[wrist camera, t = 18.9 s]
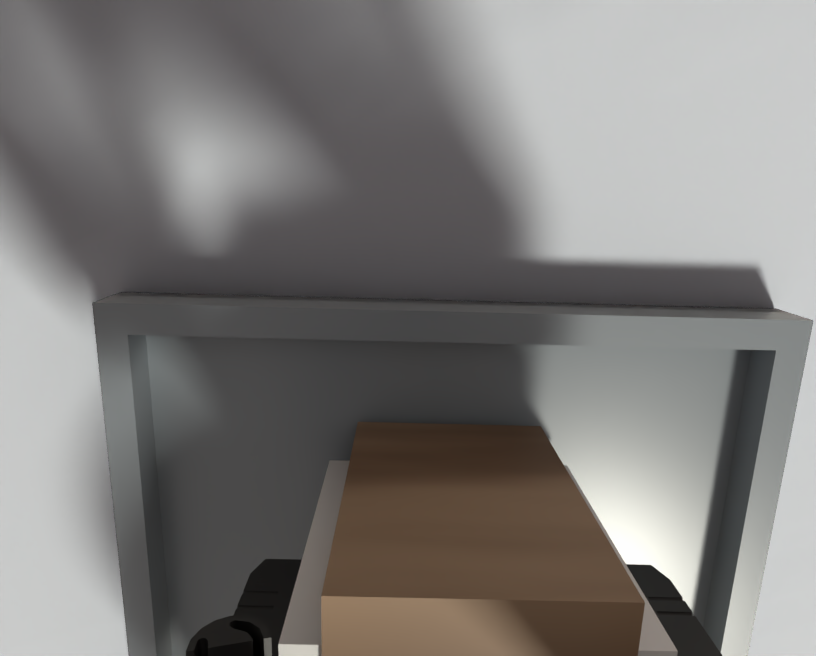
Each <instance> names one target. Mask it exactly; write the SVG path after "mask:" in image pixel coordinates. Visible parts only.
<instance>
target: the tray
mask: <svg viewBox="0 0 816 656" xmlns="http://www.w3.org/2000/svg"><path fill="white" fill-rule="evenodd" d="M92 305H93V314H94V324H95V334H96V343H97V353H98V363H99V372H100V382H101V392H102V401H103V411H104V420H105V430H106V440H107V449H108V459H109V469H110V478H111V488H112V498H113V507H114V517H115V527H116V536H117V546H118V556H119V565H120V575H121V585H122V594H123V604H124V614H125V623H126V633H127V643H128V652H129V656H186V650H187V647H188V645H189V642H190V640H191V638H192V637H193V636H194V635H195V634H196V633H197V632H198V631H199V630H200V629H201V628H203V627H204V626H206V625H208V624H209V623H211V622H213V621H215V620H218V619H221V618H225V617H228V616H233V615H234V612H235V610H236V609H237V605H238V603H239V600H240V598H241V595H242V594H243V590H244V588H245V585H246V583H247V580H248V578H249V575H250V573H251V572H252V571H253V570H254V569H256V568H257V567H258V566H259V565H260V564H261V563H262V562H263V561H264V560H265V559H301V560H302V557H303V554H304V550H305V547H306V543H307V540H308V536H309V532H310V529H311V525H312V522H313V518H314V514H315V511H316V507H317V504H318V500H319V497H320V493H321V489H322V486H323V482H324V479H325V475H326V471H327V468H328V464H329V461H330V460H339V461H350V457H351V452H352V447H353V443H354V438H355V433H356V428H357V424H358V422H389V423H431V424H473V425H515V426H541V427H542V429H543V431H544V433H545V434H546V436H547V438H548V439H549V441H550V443H551V444H552V446H553V448H554V449H555V451H556V453H557V455H558V456H559V458H560V460H561V461H562V463H563V465H567V466H568V468H569V470H570V471H571V473H572V475H573V476H574V478H575V480H576V481H577V483H578V485H579V486H580V488H581V490H582V491H583V493H584V495H585V496H586V498H587V500H588V501H589V503H590V505H591V506H592V508H593V510H594V511H595V513H596V515H597V517H598V518H599V520H600V522H601V523H602V525H603V527H604V528H605V530H606V532H607V533H608V535H609V537H610V538H611V540H612V542H613V543H614V545H615V547H616V548H617V550H618V552H619V553H620V555H621V557H622V558H623V560H624V562H625V563H626V564H639V565H652V566H653V567H655V568H656V569H657V570H658V571H660V572H661V573H662V574H664V575H665V576H666V577H667V578H669V579H670V580H671V581H672V583H673V584H674V586H675V587H676V589H677V590H678V592H679V593H680V594H681V596H682V597H683V601H685V602H686V603H687V605H688V606H689V608H690V609H691V611H692V613H693V616H696V618H697V619H698V621H699V622H700V624H701V625H702V627H703V628H704V629H705V631H706V632H707V634H708V635H709V637H710V638H711V640H712V641H713V643H714V644H715V645H716V647H717V648H718V650H719V651H720V653H721V654H722V656H747V655H748V650H749V645H750V640H751V635H752V630H753V625H754V620H755V615H756V610H757V604H758V599H759V594H760V589H761V584H762V579H763V574H764V569H765V564H766V559H767V554H768V549H769V543H770V538H771V533H772V528H773V523H774V518H775V513H776V508H777V503H778V498H779V493H780V488H781V482H782V477H783V472H784V467H785V462H786V457H787V452H788V447H789V442H790V437H791V432H792V427H793V421H794V416H795V411H796V406H797V401H798V396H799V391H800V386H801V381H802V376H803V371H804V366H805V360H806V355H807V350H808V345H809V340H810V335H811V330H812V325H813V320H810V319H807V318H804V317H801V316H797V315H794V314H791V313H788V312H785V311H782V310H779V309H772V308H733V307H693V306H653V305H613V304H573V303H533V302H493V301H453V300H414V299H374V298H334V297H294V296H254V295H214V294H174V293H135V292H120V293H118V294H115V295H112V296H109V297H107V298H104V299H101V300H98V301H96V302H93V303H92Z"/></svg>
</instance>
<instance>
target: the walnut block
mask: <svg viewBox="0 0 816 656" xmlns="http://www.w3.org/2000/svg"><path fill="white" fill-rule="evenodd" d="M644 607H645V602H644V600H643V598H642V597H641V595H640V593H639V592H638V590H637V588H636V587H635V585H634V583H633V581H632V580H631V578H630V576H629V575H628V573H627V571H626V570H625V568H624V566H623V565H622V563H621V561H620V559H619V558H618V556H617V554H616V553H615V551H614V549H613V548H612V546H611V544H610V543H609V541H608V539H607V537H606V536H605V534H604V532H603V531H602V529H601V527H600V526H599V524H598V522H597V521H596V519H595V517H594V515H593V514H592V512H591V510H590V509H589V507H588V505H587V504H586V502H585V500H584V499H583V497H582V495H581V493H580V492H579V490H578V488H577V487H576V485H575V483H574V482H573V480H572V478H571V477H570V475H569V473H568V471H567V470H566V468H565V466H564V465H563V463H562V461H561V460H560V458H559V456H558V455H557V453H556V451H555V449H554V448H553V446H552V444H551V443H550V441H549V439H548V438H547V436H546V434H545V433H544V431H543V429H542V427H541V426H515V425H473V424H431V423H389V422H358V424H357V428H356V433H355V438H354V443H353V447H352V452H351V457H350V462H349V466H348V471H347V476H346V481H345V485H344V490H343V495H342V500H341V504H340V509H339V514H338V519H337V523H336V528H335V533H334V538H333V542H332V547H331V552H330V557H329V561H328V566H327V571H326V576H325V580H324V585H323V590H322V595H321V637H322V656H638V650H639V643H640V636H641V629H642V621H643V614H644Z"/></svg>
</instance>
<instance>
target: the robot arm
mask: <svg viewBox="0 0 816 656" xmlns="http://www.w3.org/2000/svg"><path fill="white" fill-rule="evenodd" d="M349 462H350V461H339V460H330V461H329V464H328V468H327V471H326V475H325V479H324V482H323V486H322V489H321V493H320V497H319V500H318V504H317V507H316V511H315V514H314V518H313V522H312V525H311V529H310V532H309V536H308V540H307V543H306V547H305V550H304V554H303V557H302V560H301V559H265V560H264V561H263V562H262V563H261V564H260V565H259V566H258V567H257V568H256V569H254V570H253V571H252V572H251V573H250V575H249V578H248V580H247V583H246V585H245V588H244V590H243V594H242V595H241V598H240V600H239V603H238V605H237V609H236V610H235V612H234V615H233V616H228V617H225V618H221V619H218V620H215V621H213V622H211V623H209V624H208V625H206V626H204V627H203V628H201V629H200V630H199V631H198V632H197V633H196V634H195V635H194V636H193V637H192V638H191V640H190V642H189V645H188V647H187V650H186V656H322V637H321V595H322V590H323V585H324V580H325V576H326V571H327V566H328V561H329V557H330V552H331V547H332V542H333V538H334V533H335V528H336V523H337V519H338V514H339V509H340V504H341V500H342V495H343V490H344V485H345V481H346V476H347V471H348V466H349ZM564 466H565V468H566V470H567V471H568V473H569V475H570V477H571V478H572V480H573V482H574V483H575V485H576V487H577V488H578V490H579V492H580V493H581V495H582V497H583V499H584V500H585V502H586V504H587V505H588V507H589V509H590V510H591V512H592V514H593V515H594V517H595V519H596V521H597V522H598V524H599V526H600V527H601V529H602V531H603V532H604V534H605V536H606V537H607V539H608V541H609V543H610V544H611V546H612V548H613V549H614V551H615V553H616V554H617V556H618V558H619V559H620V561H621V563H622V565H623V566H624V568H625V570H626V571H627V573H628V575H629V576H630V578H631V580H632V581H633V583H634V585H635V587H636V588H637V590H638V592H639V593H640V595H641V597H642V598H643V600H644V602H645V607H644V614H643V621H642V629H641V636H640V643H639V650H638V656H722V654H721V653H720V651H719V650H718V648H717V647H716V645H715V644H714V643H713V641H712V640H711V638H710V637H709V635H708V634H707V632H706V631H705V629H704V628H703V627H702V625H701V624H700V622H699V621H698V619H697V618H696V616H693V613H692V611H691V609H690V608H689V606H688V605H687V603H686V602H685V601H683V597H682V596H681V594H680V593H679V592H678V590H677V589H676V587H675V586H674V584H673V583H672V581H671V580H670V579H669V578H667V577H666V576H665V575H664V574H662V573H661V572H660V571H658V570H657V569H656V568H655V567H653V566H652V565H639V564H626V563H625V562H624V560H623V558H622V557H621V555H620V553H619V552H618V550H617V548H616V547H615V545H614V543H613V542H612V540H611V538H610V537H609V535H608V533H607V532H606V530H605V528H604V527H603V525H602V523H601V522H600V520H599V518H598V517H597V515H596V513H595V511H594V510H593V508H592V506H591V505H590V503H589V501H588V500H587V498H586V496H585V495H584V493H583V491H582V490H581V488H580V486H579V485H578V483H577V481H576V480H575V478H574V476H573V475H572V473H571V471H570V470H569V468H568V466H567V465H564Z"/></svg>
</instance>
